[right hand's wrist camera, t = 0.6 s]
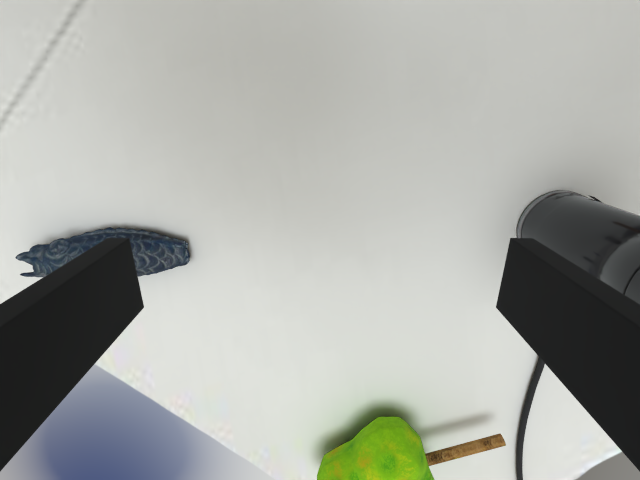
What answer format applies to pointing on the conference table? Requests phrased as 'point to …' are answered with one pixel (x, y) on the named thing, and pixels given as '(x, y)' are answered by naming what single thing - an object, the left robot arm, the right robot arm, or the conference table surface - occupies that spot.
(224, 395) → the conference table surface
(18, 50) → the conference table surface
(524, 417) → the left robot arm
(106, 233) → the fish model
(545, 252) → the right robot arm
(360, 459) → the decorative tree
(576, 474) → the conference table surface
